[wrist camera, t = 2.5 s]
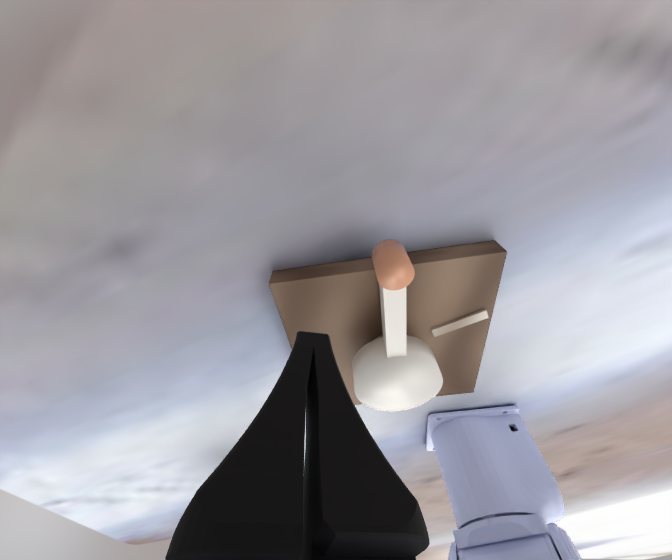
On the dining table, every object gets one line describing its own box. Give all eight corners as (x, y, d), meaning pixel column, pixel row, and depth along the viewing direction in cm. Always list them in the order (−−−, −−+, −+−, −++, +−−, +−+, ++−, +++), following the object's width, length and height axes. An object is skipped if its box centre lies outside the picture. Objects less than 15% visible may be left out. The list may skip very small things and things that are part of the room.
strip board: (495, 240, 18) (518, 261, 16) (466, 378, 27) (479, 404, 25) (272, 271, 19) (265, 295, 17) (314, 394, 28) (312, 421, 26)
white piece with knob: (431, 382, 22) (440, 409, 20) (356, 391, 23) (359, 417, 21) (444, 229, 14) (461, 250, 13) (330, 246, 15) (331, 268, 13)
